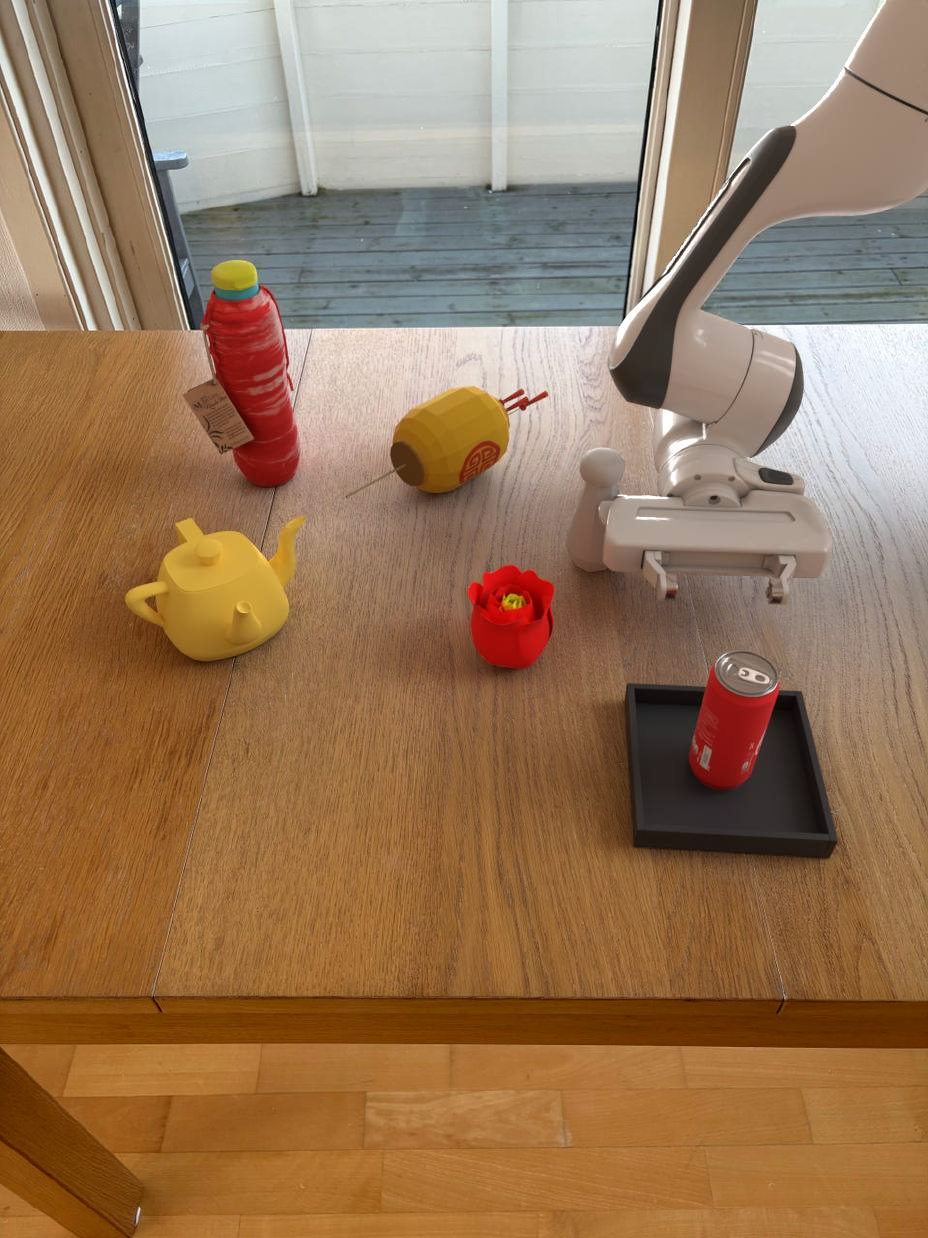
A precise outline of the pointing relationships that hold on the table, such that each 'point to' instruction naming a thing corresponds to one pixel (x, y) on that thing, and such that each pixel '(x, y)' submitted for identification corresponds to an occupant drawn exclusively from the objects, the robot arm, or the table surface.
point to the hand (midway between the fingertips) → (723, 597)
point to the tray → (734, 819)
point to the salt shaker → (593, 507)
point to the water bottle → (247, 378)
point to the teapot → (219, 592)
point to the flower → (511, 616)
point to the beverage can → (733, 719)
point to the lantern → (452, 438)
